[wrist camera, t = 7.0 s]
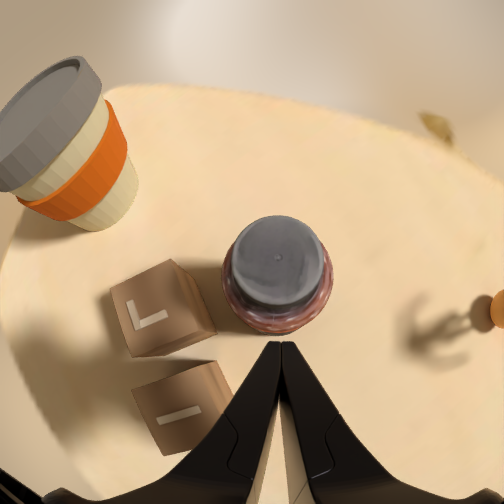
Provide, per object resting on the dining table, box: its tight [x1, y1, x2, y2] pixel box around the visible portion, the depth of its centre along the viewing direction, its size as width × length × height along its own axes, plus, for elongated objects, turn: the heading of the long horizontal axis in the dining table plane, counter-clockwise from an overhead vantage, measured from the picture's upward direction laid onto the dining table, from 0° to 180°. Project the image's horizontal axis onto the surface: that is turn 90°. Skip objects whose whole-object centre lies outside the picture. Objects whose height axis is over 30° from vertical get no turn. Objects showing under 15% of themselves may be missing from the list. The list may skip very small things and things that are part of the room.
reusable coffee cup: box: [0, 56, 139, 231], centre depth 20 cm, size 13×12×15 cm
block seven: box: [110, 259, 218, 358], centre depth 19 cm, size 5×5×6 cm
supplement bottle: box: [222, 215, 333, 336], centre depth 17 cm, size 6×6×11 cm
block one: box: [131, 361, 233, 456], centre depth 17 cm, size 5×5×6 cm
